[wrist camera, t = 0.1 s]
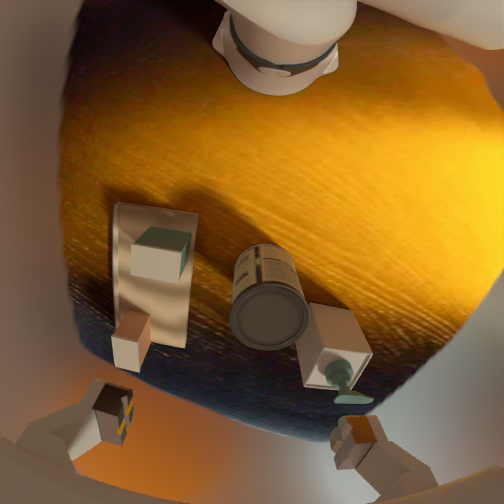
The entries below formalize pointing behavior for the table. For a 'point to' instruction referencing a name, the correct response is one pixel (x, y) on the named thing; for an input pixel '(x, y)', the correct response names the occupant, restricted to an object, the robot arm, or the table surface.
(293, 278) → the coffee can
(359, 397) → the soap bottle
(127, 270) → the shelf board
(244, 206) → the table surface
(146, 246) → the green tin
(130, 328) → the rust tin
